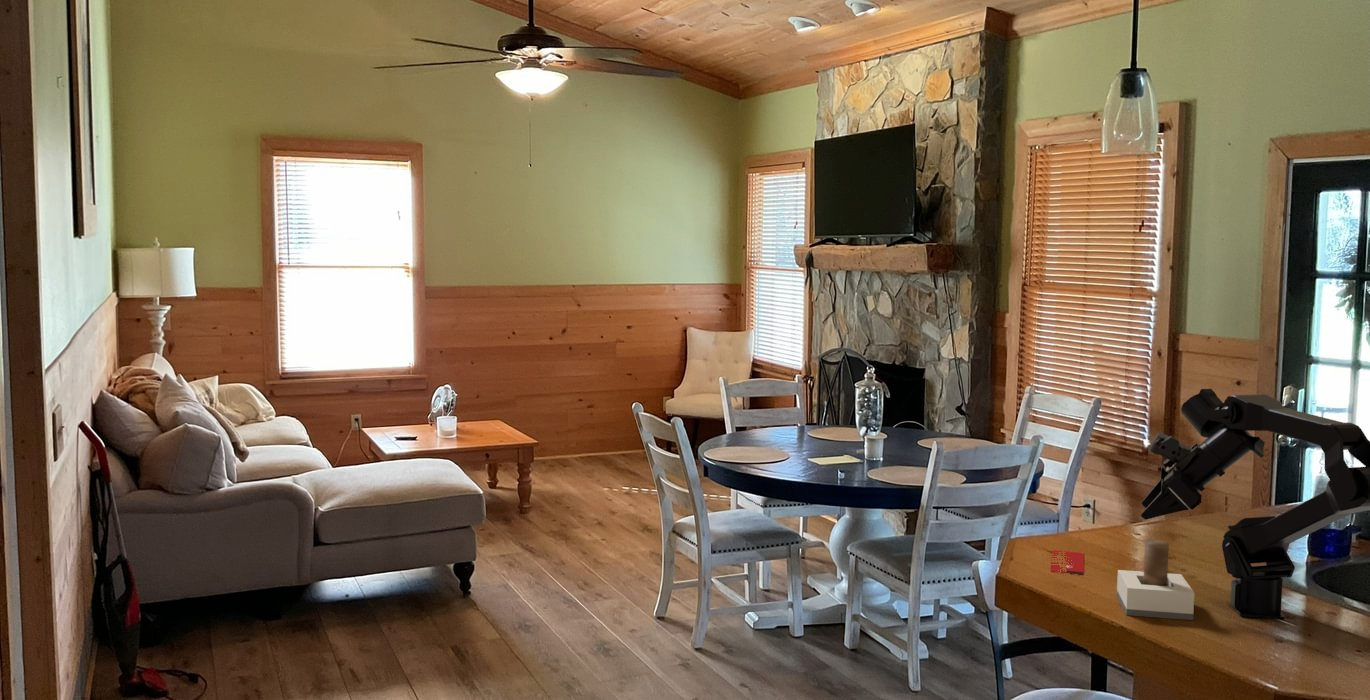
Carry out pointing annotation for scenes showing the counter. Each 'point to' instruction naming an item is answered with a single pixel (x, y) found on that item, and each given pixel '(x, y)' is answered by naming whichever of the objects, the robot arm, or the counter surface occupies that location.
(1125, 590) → the bore block
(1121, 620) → the counter surface
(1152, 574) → the walnut pin
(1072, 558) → the electronic device
